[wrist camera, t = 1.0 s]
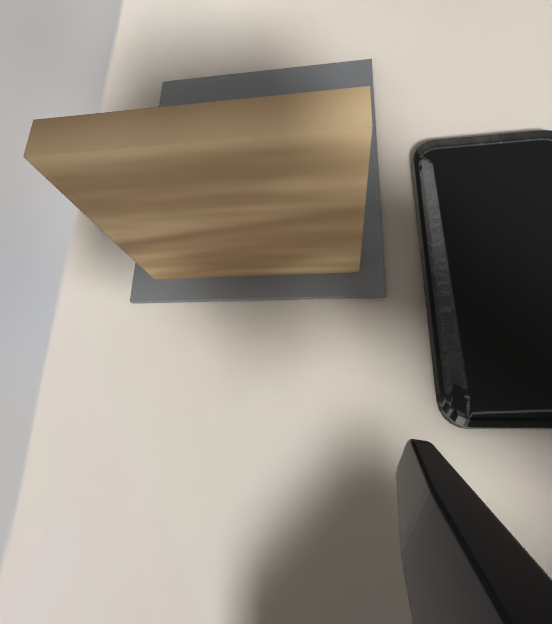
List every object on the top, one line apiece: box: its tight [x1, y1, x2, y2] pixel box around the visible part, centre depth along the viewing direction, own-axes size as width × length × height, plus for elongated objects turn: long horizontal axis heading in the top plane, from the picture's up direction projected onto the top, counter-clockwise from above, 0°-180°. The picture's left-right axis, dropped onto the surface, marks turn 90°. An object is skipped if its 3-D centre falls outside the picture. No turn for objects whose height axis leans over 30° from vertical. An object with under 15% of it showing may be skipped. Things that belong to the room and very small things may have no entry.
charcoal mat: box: [130, 59, 386, 303], centre depth 24 cm, size 16×14×1 cm
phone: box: [412, 130, 552, 429], centre depth 20 cm, size 8×1×15 cm
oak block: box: [24, 86, 372, 279], centre depth 17 cm, size 2×11×10 cm, turn 88°
